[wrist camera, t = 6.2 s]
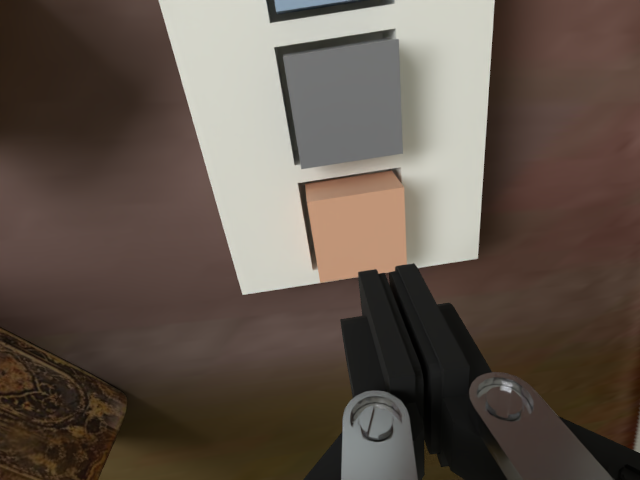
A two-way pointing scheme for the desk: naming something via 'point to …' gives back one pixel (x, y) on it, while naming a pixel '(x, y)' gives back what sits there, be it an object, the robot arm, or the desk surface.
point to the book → (53, 415)
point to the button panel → (279, 132)
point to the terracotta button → (357, 224)
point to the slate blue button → (307, 4)
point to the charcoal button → (346, 102)
